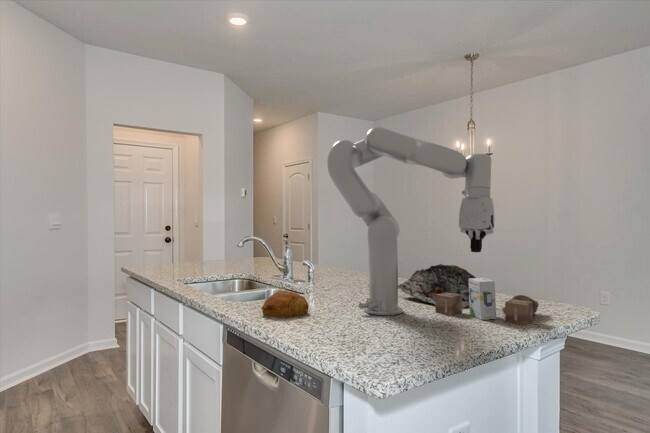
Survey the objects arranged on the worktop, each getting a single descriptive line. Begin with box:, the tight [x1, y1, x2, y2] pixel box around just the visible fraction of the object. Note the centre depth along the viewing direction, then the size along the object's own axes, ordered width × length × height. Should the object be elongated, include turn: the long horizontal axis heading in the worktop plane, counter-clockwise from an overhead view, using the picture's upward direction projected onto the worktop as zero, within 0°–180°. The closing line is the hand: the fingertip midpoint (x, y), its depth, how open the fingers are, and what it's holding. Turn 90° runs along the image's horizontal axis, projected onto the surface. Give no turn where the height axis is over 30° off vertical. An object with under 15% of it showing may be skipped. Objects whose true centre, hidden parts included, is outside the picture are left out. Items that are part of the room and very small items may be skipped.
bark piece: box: [398, 263, 477, 310], centre depth 156 cm, size 19×8×30 cm
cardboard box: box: [435, 292, 463, 317], centre depth 136 cm, size 6×6×6 cm
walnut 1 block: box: [504, 298, 533, 326], centre depth 124 cm, size 6×6×6 cm
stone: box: [501, 294, 540, 316], centre depth 133 cm, size 13×8×8 cm
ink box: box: [468, 277, 497, 321], centre depth 131 cm, size 9×5×12 cm, turn 5°
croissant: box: [260, 291, 310, 318], centre depth 137 cm, size 14×16×8 cm
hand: (475, 251), depth 131 cm, fingers closed
